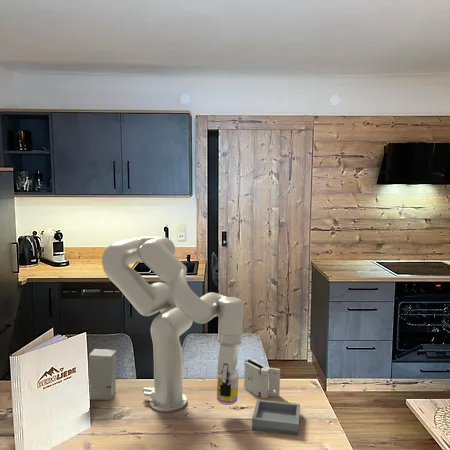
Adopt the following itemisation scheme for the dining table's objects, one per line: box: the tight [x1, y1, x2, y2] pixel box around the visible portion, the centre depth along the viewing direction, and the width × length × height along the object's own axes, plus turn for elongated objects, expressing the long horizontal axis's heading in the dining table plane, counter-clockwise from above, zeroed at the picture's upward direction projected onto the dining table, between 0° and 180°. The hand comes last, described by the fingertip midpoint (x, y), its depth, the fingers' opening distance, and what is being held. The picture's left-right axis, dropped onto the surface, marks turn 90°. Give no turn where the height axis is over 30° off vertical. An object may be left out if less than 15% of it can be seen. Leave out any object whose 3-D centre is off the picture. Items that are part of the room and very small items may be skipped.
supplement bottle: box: [216, 365, 239, 406], centre depth 145 cm, size 7×7×13 cm
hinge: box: [243, 358, 281, 399], centre depth 161 cm, size 14×5×10 cm, turn 51°
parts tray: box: [251, 398, 301, 436], centre depth 143 cm, size 14×12×4 cm
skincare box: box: [87, 348, 117, 401], centre depth 158 cm, size 8×7×16 cm
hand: (227, 389), depth 146 cm, fingers closed on supplement bottle, 6 cm apart
